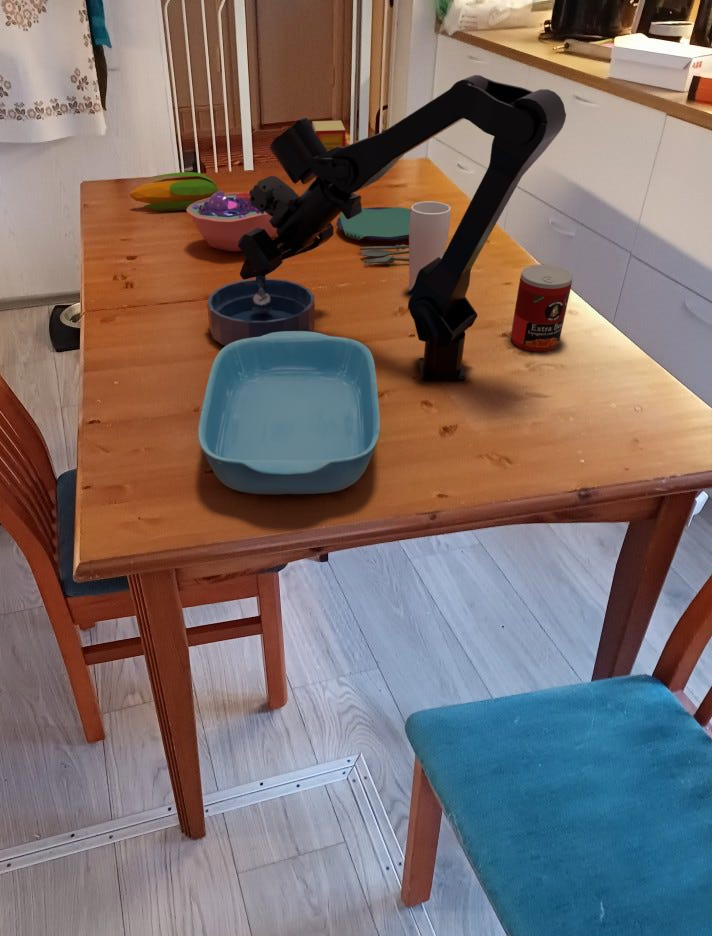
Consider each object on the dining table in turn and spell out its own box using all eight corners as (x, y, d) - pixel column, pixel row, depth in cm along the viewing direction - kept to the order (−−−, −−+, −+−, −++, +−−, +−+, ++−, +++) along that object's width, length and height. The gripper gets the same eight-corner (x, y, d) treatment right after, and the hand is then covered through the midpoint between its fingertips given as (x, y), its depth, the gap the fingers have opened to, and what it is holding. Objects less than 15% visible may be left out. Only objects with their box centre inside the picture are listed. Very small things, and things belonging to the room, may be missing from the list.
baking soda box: (312, 193, 185) (312, 119, 175) (340, 192, 186) (340, 118, 175) (316, 206, 178) (315, 129, 168) (344, 205, 178) (345, 128, 168)
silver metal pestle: (273, 318, 130) (271, 252, 123) (251, 319, 130) (247, 253, 123) (273, 309, 133) (270, 244, 126) (251, 309, 133) (247, 244, 126)
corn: (217, 174, 171) (125, 179, 169) (220, 210, 176) (131, 215, 174) (215, 167, 177) (127, 172, 175) (218, 203, 182) (132, 207, 180)
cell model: (301, 253, 155) (300, 194, 148) (204, 269, 150) (198, 208, 143) (272, 227, 167) (270, 171, 160) (182, 240, 162) (175, 183, 155)
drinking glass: (440, 302, 137) (450, 214, 127) (402, 300, 138) (408, 212, 128) (443, 287, 142) (452, 202, 132) (406, 285, 143) (412, 200, 133)
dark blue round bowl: (313, 355, 122) (313, 322, 118) (204, 355, 122) (201, 322, 119) (315, 309, 135) (314, 278, 132) (216, 309, 135) (213, 278, 132)
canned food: (524, 355, 121) (536, 287, 114) (501, 333, 127) (511, 267, 120) (568, 349, 123) (583, 281, 115) (543, 327, 128) (556, 261, 121)
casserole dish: (222, 370, 118) (218, 326, 114) (368, 369, 118) (370, 325, 113) (192, 522, 90) (185, 471, 86) (384, 521, 90) (387, 471, 85)
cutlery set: (421, 214, 173) (422, 203, 171) (447, 265, 150) (449, 253, 148) (332, 217, 172) (332, 206, 171) (345, 268, 149) (345, 256, 148)
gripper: (318, 147, 119) (263, 209, 131) (244, 177, 107) (191, 242, 119) (360, 209, 121) (302, 265, 133) (292, 246, 109) (235, 303, 121)
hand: (259, 267), depth 126 cm, fingers open, 9 cm apart
